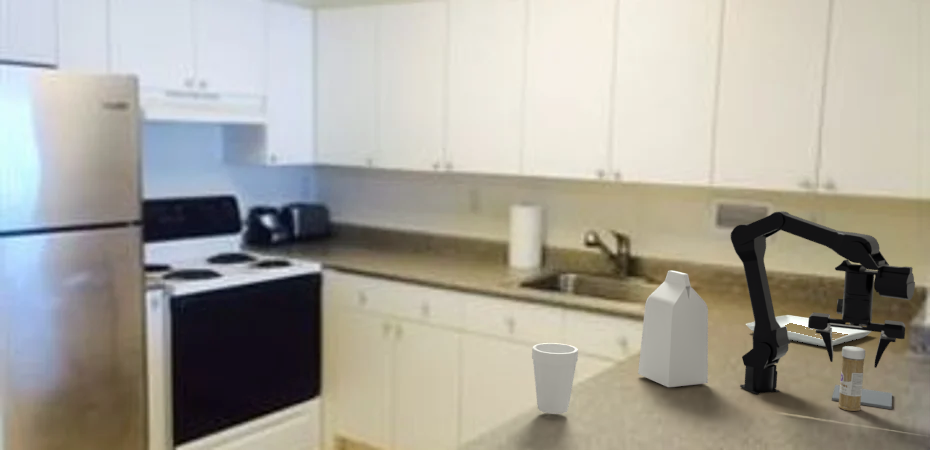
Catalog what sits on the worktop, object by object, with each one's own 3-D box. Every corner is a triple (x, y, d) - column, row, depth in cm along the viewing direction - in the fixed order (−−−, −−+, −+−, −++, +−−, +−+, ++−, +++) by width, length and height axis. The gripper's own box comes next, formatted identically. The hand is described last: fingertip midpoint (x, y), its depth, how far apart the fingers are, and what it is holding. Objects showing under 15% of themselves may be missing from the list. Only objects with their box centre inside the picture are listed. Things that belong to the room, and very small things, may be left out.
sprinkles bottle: (833, 405, 182) (838, 345, 181) (853, 405, 183) (857, 345, 181) (845, 412, 178) (849, 350, 176) (865, 411, 178) (870, 350, 177)
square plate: (831, 353, 233) (832, 339, 232) (742, 335, 253) (743, 322, 253) (872, 340, 251) (873, 328, 250) (786, 324, 271) (787, 313, 271)
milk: (637, 373, 204) (643, 269, 201) (676, 370, 208) (681, 268, 206) (668, 387, 193) (674, 277, 190) (707, 383, 197) (713, 275, 195)
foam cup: (584, 412, 172) (587, 350, 171) (549, 418, 167) (552, 356, 166) (555, 399, 180) (557, 341, 179) (521, 405, 175) (523, 345, 174)
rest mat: (891, 409, 180) (891, 406, 180) (831, 400, 186) (831, 397, 186) (891, 395, 191) (892, 393, 191) (835, 387, 197) (835, 384, 197)
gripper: (907, 292, 181) (901, 362, 182) (814, 284, 189) (810, 351, 191) (907, 300, 171) (901, 374, 172) (810, 290, 179) (805, 361, 181)
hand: (853, 364), depth 179 cm, fingers open, 8 cm apart
